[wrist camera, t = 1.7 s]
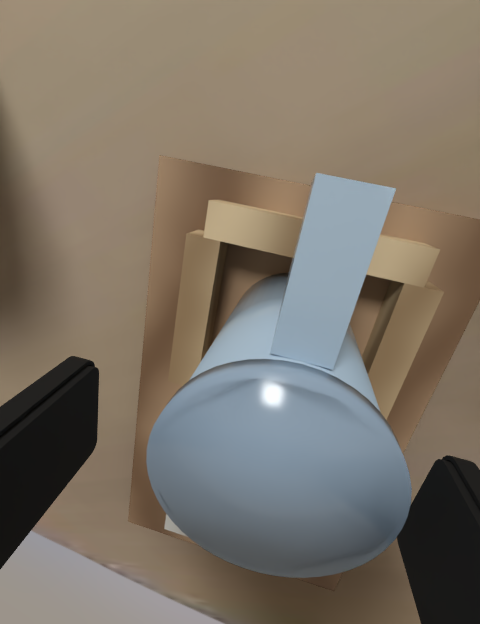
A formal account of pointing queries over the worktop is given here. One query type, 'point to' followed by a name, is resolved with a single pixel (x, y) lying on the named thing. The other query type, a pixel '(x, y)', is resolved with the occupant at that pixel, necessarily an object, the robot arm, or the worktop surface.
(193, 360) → the cradle
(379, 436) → the blue cylinder with tab
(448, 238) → the board
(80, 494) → the worktop surface
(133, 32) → the worktop surface
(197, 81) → the worktop surface
